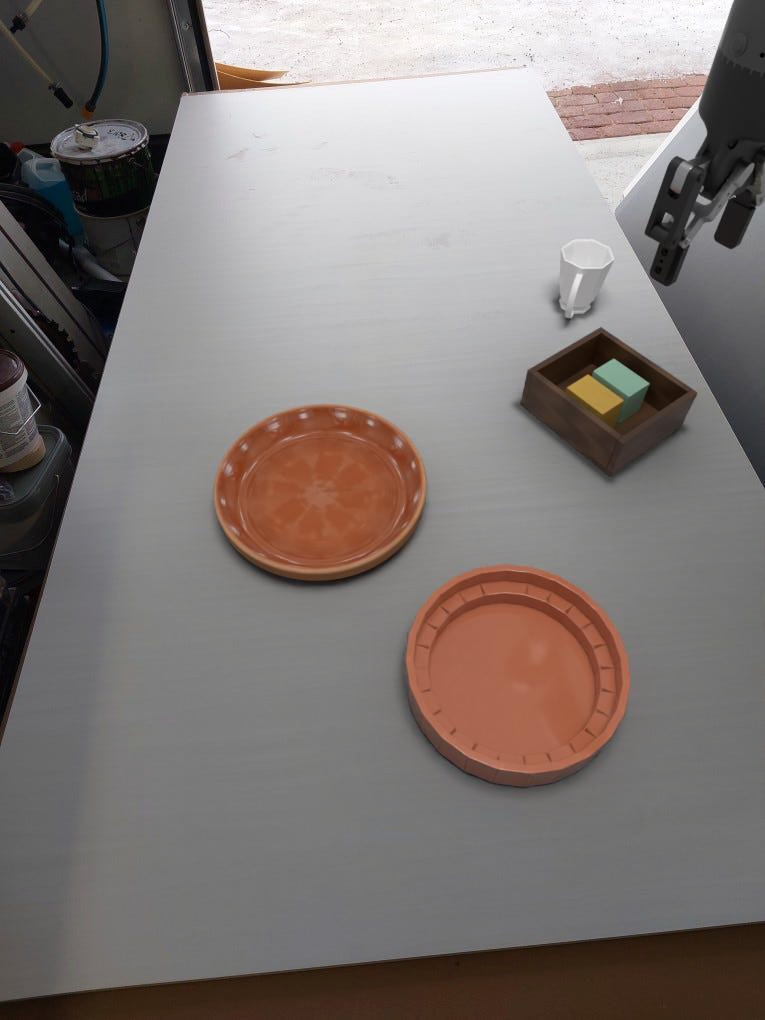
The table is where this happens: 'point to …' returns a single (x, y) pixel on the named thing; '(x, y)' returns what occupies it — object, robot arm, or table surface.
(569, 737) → the bowl
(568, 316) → the cup
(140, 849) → the table surface
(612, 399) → the yellow block
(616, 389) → the mint green block
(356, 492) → the saucer
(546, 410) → the holder
